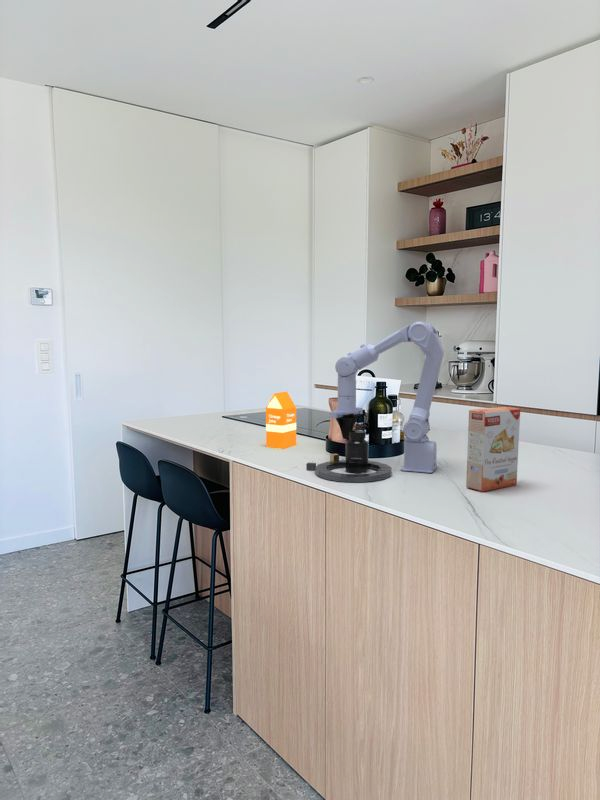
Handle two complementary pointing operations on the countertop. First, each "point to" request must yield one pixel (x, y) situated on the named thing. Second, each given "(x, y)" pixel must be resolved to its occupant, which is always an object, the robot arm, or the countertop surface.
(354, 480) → the ring
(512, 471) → the cracker box
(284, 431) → the orange juice
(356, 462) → the supplement bottle
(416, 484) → the countertop surface
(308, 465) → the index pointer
